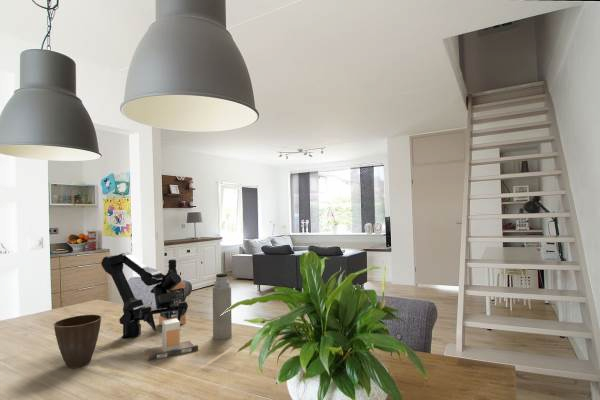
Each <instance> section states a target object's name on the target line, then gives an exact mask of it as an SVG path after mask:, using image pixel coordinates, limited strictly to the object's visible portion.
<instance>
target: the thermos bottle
mask: <svg viewBox="0 0 600 400" xmlns="http://www.w3.org/2000/svg"><path fill="white" fill-rule="evenodd" d="M215 277H216V278H215V281H213V282H214V284H213V287H212V337H213V339H214V340H226V339H232V338H233V337H232V336H233V333H232V332H233V331H232V326H233V325H232V324H233V323H232V309H231V310H230V311H228V312H226V313H224V314H223V315H221V314H222V313H223V312H224V311H225V310H226V309H227V308H229V307H230V306H231V307H232V286H231V285H230V283H231V282H230V281H229V280H228V273H217V274H216V275H215ZM220 315H221V316H220Z"/></svg>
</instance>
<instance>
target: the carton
mask: <svg viewBox="0 0 600 400" xmlns="http://www.w3.org/2000/svg"><path fill="white" fill-rule="evenodd" d="M161 326H162V327H161V328H162V329H161V331H162V332H161V339H162V341H161V343H162V344H161V346H162V351H163V352H166V351H171V350H175V349H180V342H181V324H180V321H179V320H178V319H177V318H176V319H170V320H164V321H162V325H161Z"/></svg>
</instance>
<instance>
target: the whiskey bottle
mask: <svg viewBox="0 0 600 400" xmlns="http://www.w3.org/2000/svg"><path fill="white" fill-rule="evenodd" d="M172 270H173V272H175V273H177V274H178V269H177V259H175V258H172V259H169V260H168V270H167V273H168V272H169V271H172ZM185 288H186V283H185V282H183V281H181V282H180V283H179V284H178V285H177V286H176V287H174V288H173V289H172V290H168V293H171V292H173V291H176V295H177V298H176V299H174V300H172V305H171V307H174V306H177V303H179V302H185ZM176 315H177V313H176V311H173V312H166V313H159V317H158V325H159V326H162V321H164V320H170V319H176ZM186 318H187V317H186V313H185V314H183V315H182V316H181V319H180V325H184V324H186V323H187V319H186Z"/></svg>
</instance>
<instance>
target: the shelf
mask: <svg viewBox="0 0 600 400" xmlns="http://www.w3.org/2000/svg"><path fill="white" fill-rule="evenodd" d="M197 351H199V345H198V344H195V345H194V344H193V343H192V342H191V341H190V340H187V341H180V349H175V350H171V351H166V352H163V351H162V345H161V346H156V347H151V348H147V349H143V353H144V354H145V356H146V358H147V360H148V361H149V362H151V361H157V360H161V359H165V358H170V357H173V356H179V355H184V354H188V353H192V352H197Z"/></svg>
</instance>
